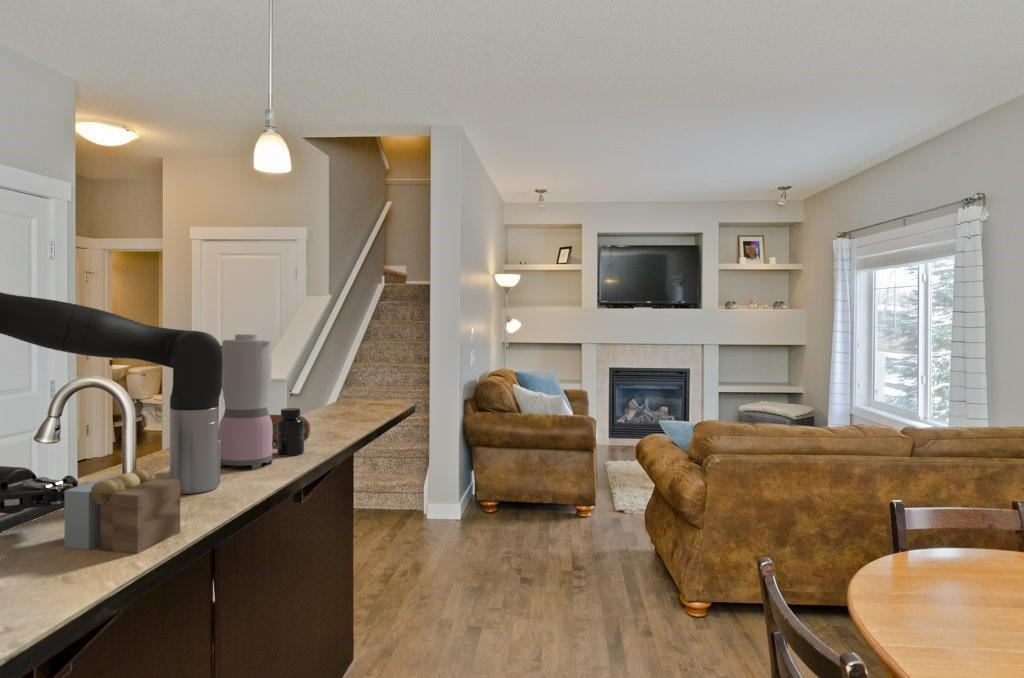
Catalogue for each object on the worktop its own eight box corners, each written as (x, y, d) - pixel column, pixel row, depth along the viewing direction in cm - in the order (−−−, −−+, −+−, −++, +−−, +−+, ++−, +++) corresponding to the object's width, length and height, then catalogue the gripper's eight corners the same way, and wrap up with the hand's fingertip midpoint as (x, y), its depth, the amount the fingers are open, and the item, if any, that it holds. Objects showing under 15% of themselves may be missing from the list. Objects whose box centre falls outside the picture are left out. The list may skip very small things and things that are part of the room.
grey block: (113, 526, 109) (113, 465, 109) (155, 530, 108) (155, 467, 108) (64, 547, 99) (64, 479, 99) (110, 551, 98) (110, 482, 98)
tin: (257, 443, 182) (257, 414, 181) (263, 441, 185) (263, 412, 184) (306, 446, 179) (306, 416, 179) (311, 444, 182) (311, 415, 182)
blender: (282, 460, 161) (283, 334, 159) (255, 472, 149) (256, 335, 147) (226, 457, 163) (227, 333, 162) (194, 468, 151) (195, 334, 150)
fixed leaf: (137, 528, 109) (137, 466, 108) (180, 531, 107) (180, 469, 107) (90, 549, 99) (90, 481, 98) (137, 553, 98) (137, 484, 97)
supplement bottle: (293, 449, 174) (294, 406, 173) (309, 453, 170) (309, 408, 169) (271, 453, 168) (271, 408, 168) (286, 457, 164) (287, 411, 164)
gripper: (-46, 476, 99) (53, 483, 97) (30, 458, 112) (118, 463, 110) (-45, 523, 100) (53, 531, 97) (30, 499, 113) (118, 506, 110)
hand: (87, 495), depth 104 cm, fingers closed
